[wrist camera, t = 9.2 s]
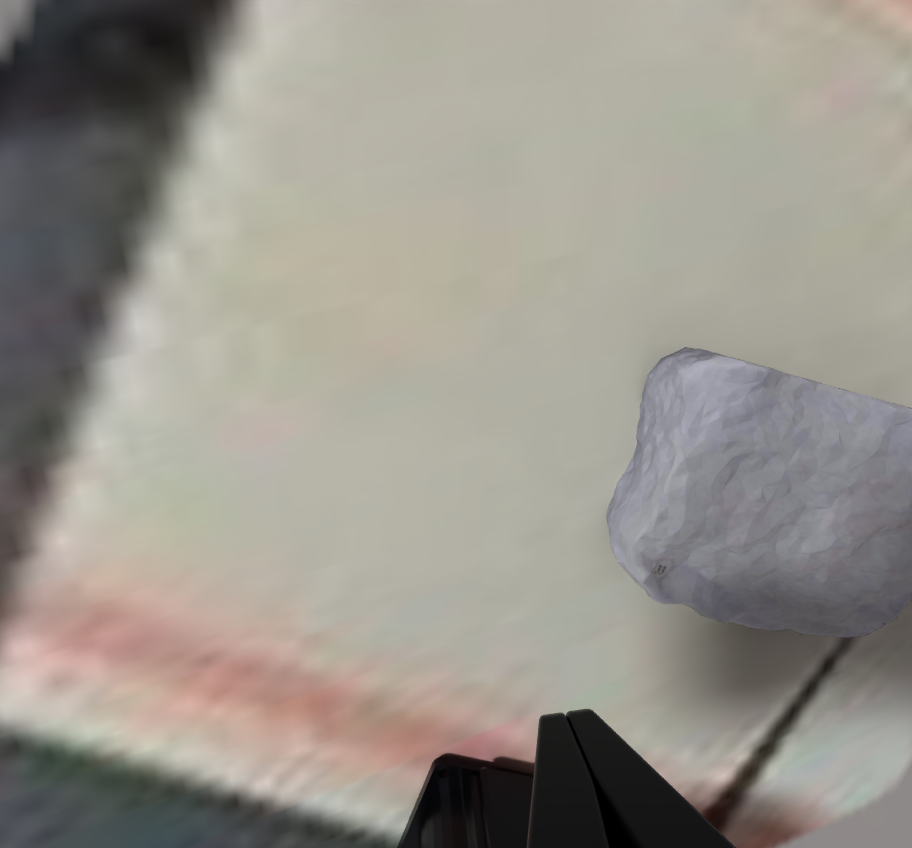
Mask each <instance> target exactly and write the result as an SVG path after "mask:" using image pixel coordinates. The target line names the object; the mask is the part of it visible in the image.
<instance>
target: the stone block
mask: <svg viewBox="0 0 912 848" xmlns="http://www.w3.org/2000/svg"><path fill="white" fill-rule="evenodd" d="M636 439H637V446H636V449H635V453H634V456H633V458H632V460H631V461H630V463H629V465H628V467H627V469H626V471H625V473H624V474H623V475H622V477H621V478H620V480H619V481H618V483H617V486H616V489H615V492H614V495H613V498H612V500H611V503H610V505H609V507H608V511H607V517H606V519H607V523H608V527H609V533H610V544H611V547H612V550H613V553H614V555H615V556H616V558H617V560H618V562H619V564H620V565H621V566H622V567H623V568H624V569H625V570H626V571H627V573H628V574H629V575H630V576H631V577H632V578H633V579H634V580H635V582H636V583H637V584H639V585H640V586H641V587H642V588H643V589H644V590H645V591H646V593H647V594H648V596H650V597H651V598H652V599H654V600H655V601H658V602H660V603H663V604H684V605H687V606H689V607H691V608H693V609H694V610H695V611H696V612H697V613H698V614H700V615H702V616H705V617H708V618H711V619H714V620H716V621H720V622H728V623H731V622H735V623H737V624H740V625H743V626H747V627H750V628H752V629H765V630H774V631H777V630H785V629H791V630H793V631H796V632H798V633H799V634H811V635H822V636H833V637H845V638H849V637H859V636H863V635H867V634H870V633H871V632H872V631H874V630H878V629H879V628H881V627H883V626H884V625H886V624H887V623H889V622H891V621H893V620H894V619H896V618H897V617H898V616H899V614H900V613H901V612H902V611H903V609H904V608H905V606H906V605H907V603H908V602H909V601H910V600H911V599H912V408H909V407H905V406H901V405H898V404H894V403H890V402H886V401H883V400H879V399H875V398H872V397H868V396H864V395H861V394H857V393H853V392H850V391H847V390H843V389H839V388H835V387H832V386H828V385H825V384H821V383H818V382H815V381H812V380H808V379H805V378H801V377H797V376H793V375H790V374H786V373H783V372H781V371H778V370H775V369H772V368H769V367H764V366H760V365H756V364H753V363H750V362H746V361H742V360H739V359H735V358H731V357H727V356H723V355H720V354H717V353H712V352H710V351H707V350H702V349H693V348H687V347H685V348H683V349H681V350H679V351H677V352H675V353H673V354H671V355H668V356H666V357H664V358H661V360H660V361H659V362H658V363H657V364H656V366H655V367H654V368H653V369H652V370H651V372H650V373H649V374H648V377H647V380H646V384H645V387H644V391H643V400H642V403H641V405H640V419H639V423H638V428H637V435H636ZM883 624H884V625H883Z"/></svg>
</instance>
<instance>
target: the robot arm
mask: <svg viewBox="0 0 912 848" xmlns="http://www.w3.org/2000/svg"><path fill="white" fill-rule="evenodd" d="M442 769H445V770H442ZM397 848H736V847H735V846H734V845H733V844H732V843H731V842H730V841H728V840H727V839H726V838H725V837H724V836H723V835H722V834H721V833H720V832H719V831H718V830H717V829H716V828H715V827H714V826H713V825H712V824H711V823H710V822H709V821H708V820H707V819H706V818H704V817H703V816H702V815H701V814H700V813H699V812H698V811H697V810H696V809H695V808H694V807H693V806H692V805H691V804H690V803H689V802H688V801H687V800H686V799H685V798H684V797H683V796H681V795H680V794H679V793H678V792H677V791H676V790H675V789H674V788H673V787H672V786H671V785H670V784H669V783H668V782H667V781H666V780H665V779H664V778H663V777H662V776H661V775H660V774H659V773H657V772H656V771H655V770H654V769H653V768H652V767H651V766H650V765H649V764H648V763H647V762H646V761H645V760H644V759H643V758H642V757H641V756H640V755H639V754H638V753H637V752H636V751H634V750H633V749H632V748H631V747H630V746H629V745H628V744H627V743H626V742H625V741H624V740H623V739H622V738H621V737H620V736H619V735H618V734H617V733H616V732H615V731H614V730H613V729H612V728H610V727H609V726H608V725H607V724H606V723H605V722H604V721H603V720H602V719H601V718H600V717H599V716H598V715H597V714H596V713H595V712H594V711H592V710H590V709H582V710H575V711H569V712H567V713H566V716H565V714H563V713H554V714H547V715H542V716H541V717H540V719H539V727H538V737H537V747H536V758H535V768H534V775H531V774H526V773H522V772H517V771H512V770H508V769H503V768H498V767H493V766H489V765H484V764H479V763H475V762H470V761H465V760H461V759H456V758H451V757H445V756H442V757H439V758H437V759H435V760H434V762H433V763H432V765H431V768H430V770H429V773H428V775H427V777H426V780H425V782H424V785H423V787H422V789H421V792H420V794H419V797H418V799H417V801H416V804H415V806H414V809H413V811H412V813H411V816H410V818H409V821H408V823H407V825H406V828H405V830H404V833H403V835H402V837H401V840H400V842H399V845H398V847H397Z"/></svg>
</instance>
